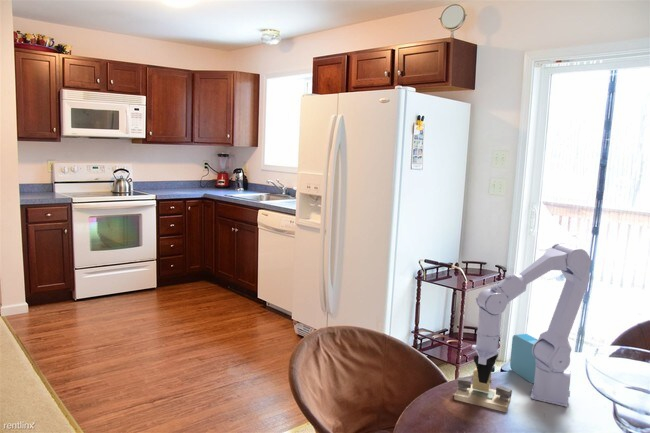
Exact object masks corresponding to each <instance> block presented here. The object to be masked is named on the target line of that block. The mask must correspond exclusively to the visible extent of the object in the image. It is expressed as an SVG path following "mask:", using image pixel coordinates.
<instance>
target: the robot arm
mask: <svg viewBox="0 0 650 433" xmlns="http://www.w3.org/2000/svg"><path fill="white" fill-rule="evenodd" d="M591 258H592V257H591V256H590V255H589V253H588V252H587V251H586V250H584V249H582V248H578V247H574V246H571V245H568V244H565V243H563V242H558V243H555V244H553V245H552V246H551V247H549V248H547V249H546V250H545V252H544V254H542V255H541V256H540V257H539V258H538V259H536V260H535V261H534V262H532V264H530V265H529V266H527V267H526V268H525V269H523V270H522V271H521V272H519V273H518V274H516V273H511V274H508V273H507V274H506V275H505V276H504V279H502V280H500V281H498V282H497V283H496V284H495V285H491V286H490V288H484V289H483V290H481V291H480V292H479V293H478V295H477V297H475V301H476V302H475V303H476V304H477V306H478V322H477V334H476V344H472V345H471V349H472V350H474V351H475V353H476V354H477V355H474V356H473V362H474V364H475V366H476V367H475V368H477V371H478V379H479V382H481V383H485V384H487V382H488V379H489V375H490V371H491V372H492V369H493V367H494V366H495V364H496V362H497V361H496V360H497V358H498V357H499V340H500V338H499V337H500V328H501V315H502V313H504V312H505V310H506V308H507V306H508V304H509V303H510V302H511V301H514V300H515V299H516V298H517V297H519V296H520V295H521V294H523V293H524V292H526V290H527V286H528V284H530V283H532V282H533V281H536V280H538V279H539V278H541V277H542V276H544V275H545V274H548V273H549V272H550V271H561V273H562V274H563V276H564V278H565V282H564V285H563V288H562V290H561V293H560V296H559V299H558V301H557V303H556V306H555V310H554V312H553V315H552V317H551V320H550V323H549V326H548V329H547V330H546V331H544V332H542V333H540V334H539V337H538V339H537V341H536V342H535V343H534V345H533V347H532V353H533V355H534V357H535V358H536V360H535V362H536V368H535V378H534V384H533V386H532V387H531V388H532V389H531V394H530V399H532V400H535V401H541V402H545V403H547V404H548V403H550V404H553V405H557V406H562V407H566V408H567V407H568V404H569V398H570V396H571V390H570V385H571V376H572V375H571V374H572V372H571V371H570V370H567V369H568V368H569V366H570V364H571V353H572V346H571V344H570V341H569V337H570V334H571V330H572V328H573V325H574V323H575V320H576V318H577V314H578V311H579V309H580V306H581V303H583V302H582V301H583V299H584V296H585V293H586V290H587V288H588V285H589V282H590V267H591V265H592V261H593V260H592V259H591Z"/></svg>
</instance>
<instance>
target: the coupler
mask: <svg viewBox="0 0 650 433" xmlns="http://www.w3.org/2000/svg"><path fill="white" fill-rule="evenodd" d="M471 381H472V389H477V390H481V391H485V392H489V390H490V389H491V384H492V371H490V375H489V379H488V382H487V384H485V383H481V382H479V379H478V371H477V367H475V368H474V370H473V374H472V378H471Z"/></svg>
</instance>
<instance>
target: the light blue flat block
mask: <svg viewBox="0 0 650 433" xmlns="http://www.w3.org/2000/svg"><path fill="white" fill-rule="evenodd" d="M537 340H538V339H537V338H535V337H533V336H532V335H530V334H528V333H521V334H514V335H513V336H512V339H511V349H510V350H511V352H510V362H509V366H510V370H511V371H512V372H514V373H515V374H517V375H518V376H519V377H522V378H523V379H525V380H526V381H528V382H530V383H531V384H533V385H534V378H535V368H536V362H535V360H536V358H535V357H534V355H533V353H532V347H533V345H534V343H535V342H536V341H537Z"/></svg>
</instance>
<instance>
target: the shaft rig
mask: <svg viewBox="0 0 650 433" xmlns="http://www.w3.org/2000/svg"><path fill="white" fill-rule="evenodd" d="M456 385H457V389H456V391H455V392H454V398H453V399H454V400H455V401H459V402H463V403H467V404H471V405H476V406H480V407H484V408H487V409H490V410H496V411H499V412H503V413H508V410H509V406H510V402H511V399H512V394H513V389H512V388H509V387H506V386H504V385H500V384H498V385H497V386H496V388H495V389H494V388H490V390H489V392H485V391H481V390H477V389H472V385H473V383H472V378H467V377H459V376H458V377H457V380H456Z"/></svg>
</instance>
